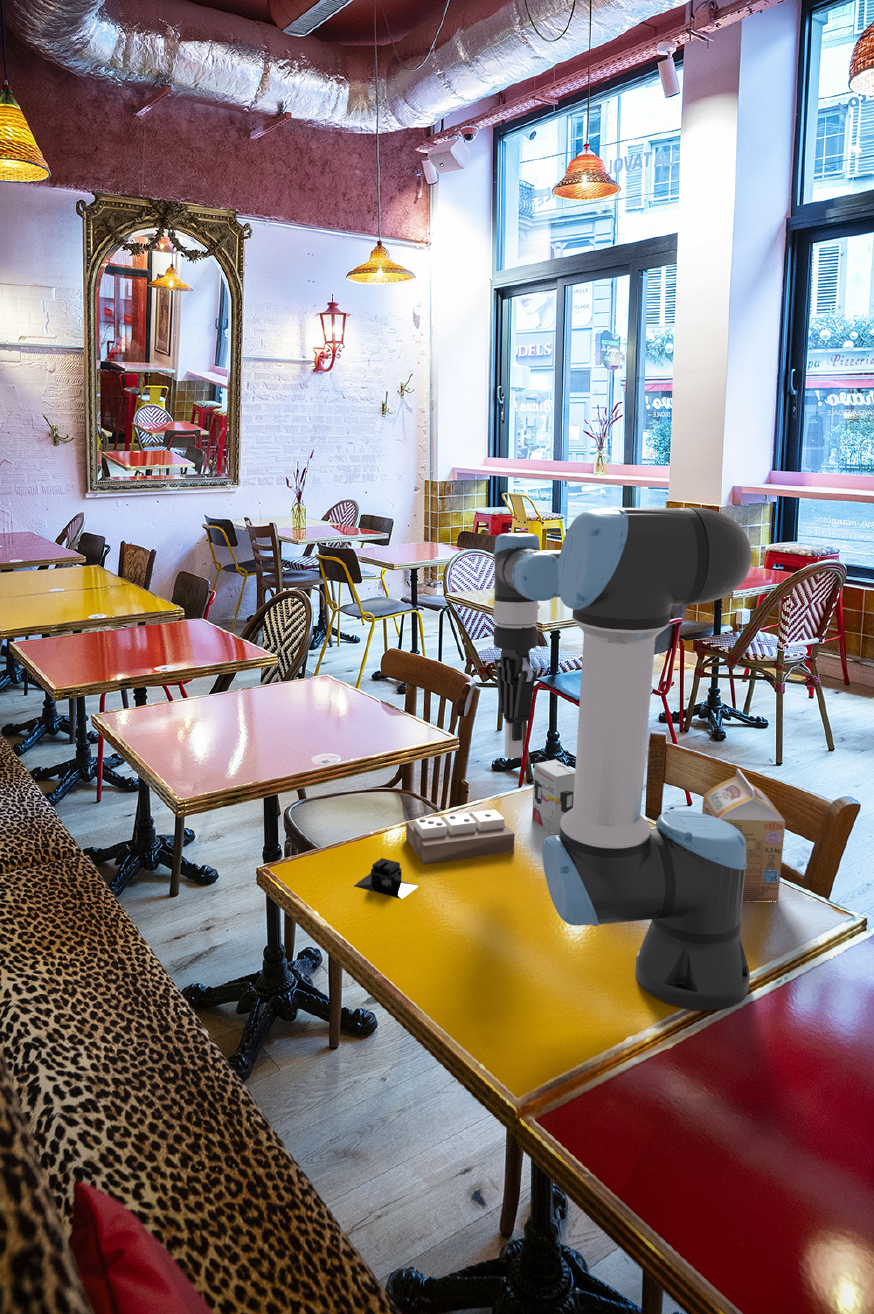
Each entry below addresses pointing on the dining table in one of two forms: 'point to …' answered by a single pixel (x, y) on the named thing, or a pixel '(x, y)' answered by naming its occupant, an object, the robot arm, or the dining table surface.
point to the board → (460, 844)
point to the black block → (386, 880)
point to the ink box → (552, 793)
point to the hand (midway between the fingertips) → (513, 756)
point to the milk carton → (751, 833)
